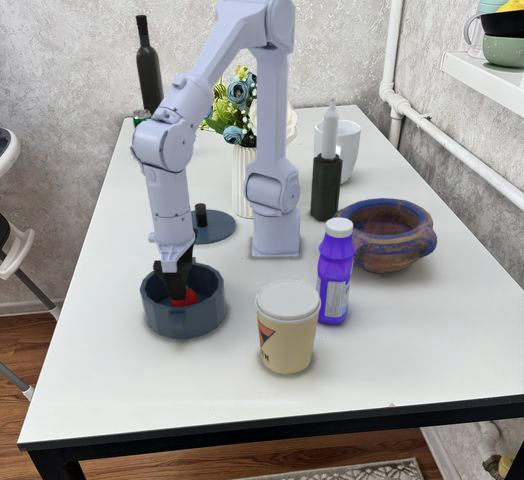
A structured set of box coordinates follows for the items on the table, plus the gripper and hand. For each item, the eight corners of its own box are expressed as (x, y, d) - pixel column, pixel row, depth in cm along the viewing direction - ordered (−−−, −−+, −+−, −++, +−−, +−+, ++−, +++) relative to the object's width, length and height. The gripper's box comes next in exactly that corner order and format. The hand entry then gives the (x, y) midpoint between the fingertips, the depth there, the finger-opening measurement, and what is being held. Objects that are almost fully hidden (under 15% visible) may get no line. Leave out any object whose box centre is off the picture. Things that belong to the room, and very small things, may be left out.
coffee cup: (254, 340, 80) (252, 279, 72) (310, 336, 81) (315, 275, 72) (258, 381, 73) (257, 319, 65) (320, 377, 74) (327, 315, 66)
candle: (320, 222, 109) (329, 101, 92) (308, 213, 112) (314, 94, 95) (339, 217, 110) (351, 97, 94) (326, 208, 114) (336, 90, 97)
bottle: (345, 329, 82) (357, 236, 70) (311, 325, 83) (318, 233, 71) (348, 303, 87) (360, 213, 75) (316, 300, 88) (323, 210, 76)
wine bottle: (151, 126, 156) (133, 13, 136) (169, 127, 155) (153, 13, 135) (146, 133, 152) (127, 17, 131) (164, 133, 151) (148, 17, 131)
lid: (237, 213, 112) (236, 190, 109) (234, 246, 102) (233, 222, 98) (174, 213, 113) (170, 190, 109) (164, 247, 102) (160, 222, 98)
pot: (228, 283, 92) (226, 253, 88) (222, 352, 78) (219, 320, 74) (156, 283, 92) (150, 253, 88) (137, 352, 78) (129, 321, 74)
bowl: (327, 238, 104) (331, 193, 97) (411, 237, 104) (421, 192, 97) (337, 287, 91) (343, 239, 84) (434, 286, 91) (447, 238, 84)
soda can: (137, 160, 136) (128, 114, 128) (144, 153, 140) (136, 108, 132) (154, 161, 135) (146, 115, 127) (160, 154, 139) (153, 109, 131)
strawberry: (200, 304, 86) (197, 279, 83) (198, 321, 83) (194, 295, 79) (174, 304, 87) (170, 279, 83) (171, 321, 83) (166, 295, 79)
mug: (356, 197, 118) (363, 141, 109) (310, 195, 119) (313, 140, 110) (354, 171, 129) (360, 119, 120) (312, 170, 130) (315, 118, 121)
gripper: (151, 187, 77) (164, 261, 86) (133, 233, 66) (150, 312, 76) (196, 187, 77) (204, 261, 86) (185, 233, 66) (195, 312, 75)
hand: (181, 285), depth 81 cm, fingers open, 7 cm apart
